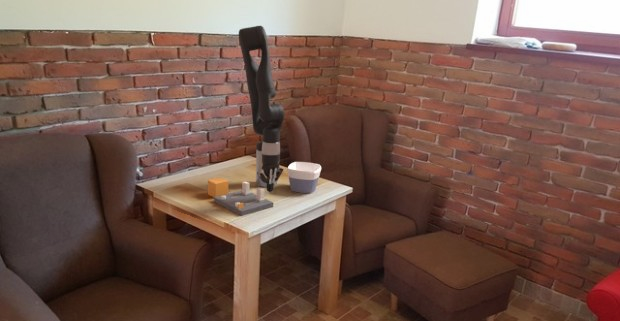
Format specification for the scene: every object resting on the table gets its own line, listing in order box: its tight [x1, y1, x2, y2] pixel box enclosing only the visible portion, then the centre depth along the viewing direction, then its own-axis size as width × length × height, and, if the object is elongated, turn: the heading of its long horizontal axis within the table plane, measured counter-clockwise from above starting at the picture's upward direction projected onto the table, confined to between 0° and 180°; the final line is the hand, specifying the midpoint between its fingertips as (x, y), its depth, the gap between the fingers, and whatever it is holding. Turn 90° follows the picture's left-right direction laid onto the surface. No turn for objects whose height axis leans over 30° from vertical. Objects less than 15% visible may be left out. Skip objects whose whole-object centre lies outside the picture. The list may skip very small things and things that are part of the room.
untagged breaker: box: [241, 181, 252, 196], centre depth 199 cm, size 3×3×5 cm
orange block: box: [207, 177, 229, 198], centre depth 202 cm, size 6×6×7 cm
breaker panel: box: [213, 189, 274, 217], centre depth 193 cm, size 16×20×4 cm
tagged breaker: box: [255, 187, 266, 202], centre depth 192 cm, size 3×3×5 cm
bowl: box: [286, 161, 322, 194], centre depth 214 cm, size 15×15×11 cm
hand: (269, 191), depth 196 cm, fingers closed
